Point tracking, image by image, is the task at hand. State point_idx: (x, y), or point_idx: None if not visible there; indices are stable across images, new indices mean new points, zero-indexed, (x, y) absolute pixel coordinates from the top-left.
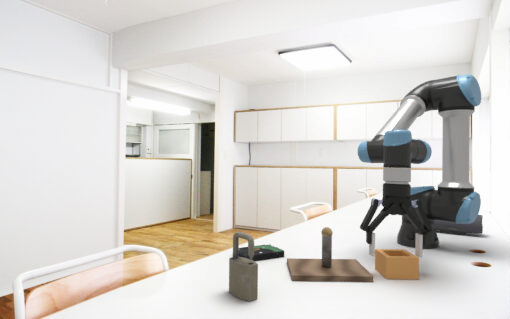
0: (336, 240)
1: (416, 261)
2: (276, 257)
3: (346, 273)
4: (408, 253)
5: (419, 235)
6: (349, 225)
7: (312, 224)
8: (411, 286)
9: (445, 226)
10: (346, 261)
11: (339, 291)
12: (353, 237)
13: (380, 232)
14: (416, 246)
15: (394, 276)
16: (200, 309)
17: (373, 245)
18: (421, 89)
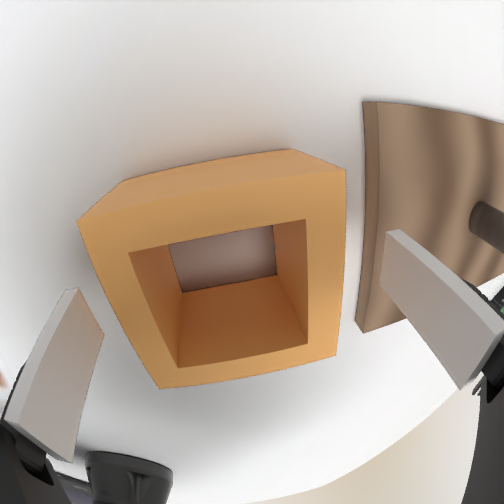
0: (315, 453)
1: (102, 206)
2: (498, 294)
3: (455, 143)
4: (140, 320)
5: (26, 423)
6: (254, 497)
7: (321, 483)
8: (190, 62)
9: (90, 493)
10: None
11: (460, 36)
12: (267, 473)
13: (201, 491)
14: (81, 369)
15: (252, 155)
16: None
17: (440, 268)
18: None
